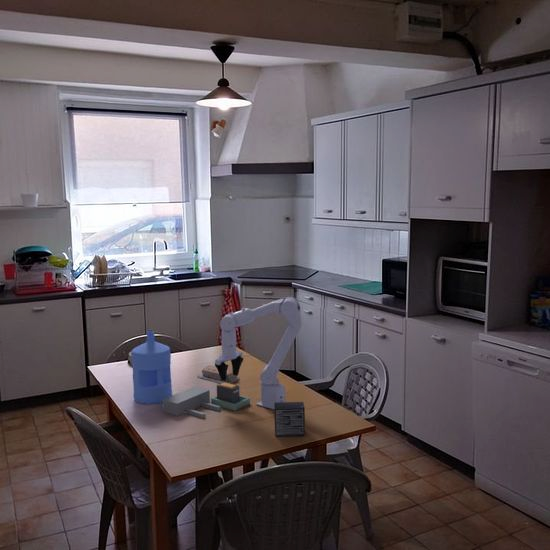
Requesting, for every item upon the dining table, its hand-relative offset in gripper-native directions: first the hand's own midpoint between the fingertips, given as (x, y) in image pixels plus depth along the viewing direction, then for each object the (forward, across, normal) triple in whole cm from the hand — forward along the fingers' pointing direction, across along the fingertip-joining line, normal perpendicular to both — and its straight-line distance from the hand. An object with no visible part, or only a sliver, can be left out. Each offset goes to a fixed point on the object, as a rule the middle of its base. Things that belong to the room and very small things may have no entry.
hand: (229, 377), depth 231 cm
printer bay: (+11, +13, -7) cm, 18 cm away
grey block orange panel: (+10, +1, 0) cm, 10 cm away
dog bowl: (+11, -20, -71) cm, 75 cm away
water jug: (+11, +14, -30) cm, 35 cm away
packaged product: (+11, -21, -24) cm, 34 cm away
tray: (+10, +1, +1) cm, 11 cm away
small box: (+11, +11, +36) cm, 39 cm away
